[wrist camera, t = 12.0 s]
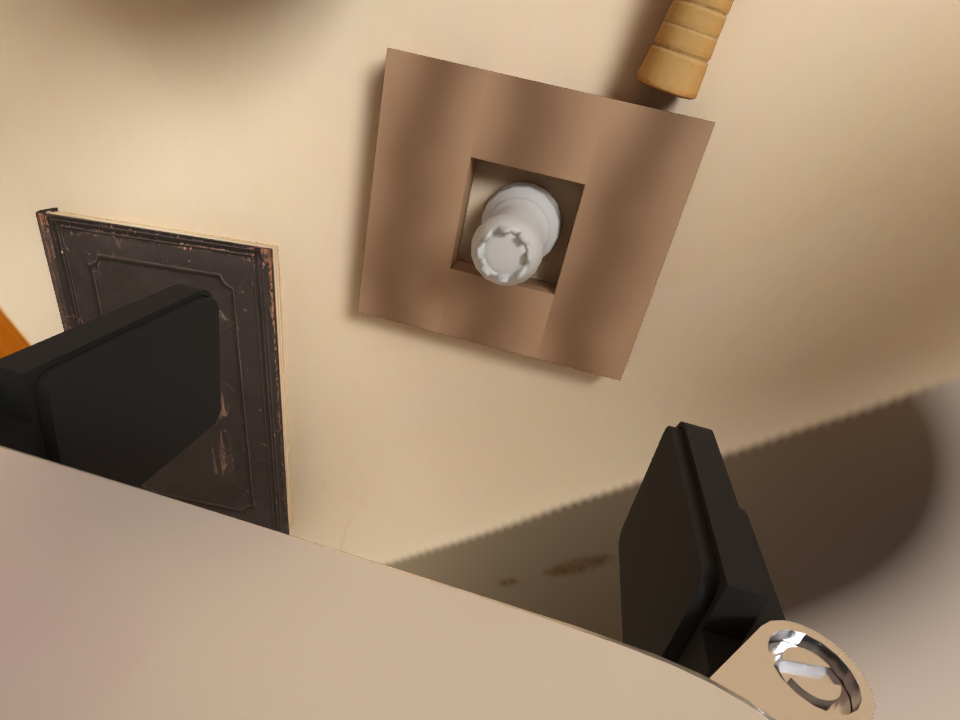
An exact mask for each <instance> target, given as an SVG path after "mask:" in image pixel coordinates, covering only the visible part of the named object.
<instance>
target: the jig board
mask: <svg viewBox="0 0 960 720" xmlns="http://www.w3.org/2000/svg"><path fill="white" fill-rule="evenodd" d="M714 124H715V122H711V121H707V120H703V119H698V118H694V117H689V116H685V115H681V114H676V113H672V112H667V111H663V110H659V109H654V108H650V107H646V106H641V105H637V104H632V103H628V102H624V101H619V100H615V99H610V98H606V97H602V96H597V95H593V94H589V93H584V92H580V91H575V90H571V89H567V88H562V87H558V86H553V85H549V84H545V83H540V82H536V81H532V80H527V79H523V78H518V77H514V76H510V75H505V74H501V73H497V72H492V71H488V70H483V69H479V68H475V67H470V66H466V65H461V64H457V63H453V62H448V61H444V60H440V59H435V58H431V57H426V56H422V55H418V54H413V53H409V52H404V51H400V50H396V49H391V48H387V55H386V64H385V73H384V82H383V91H382V100H381V109H380V118H379V127H378V135H377V144H376V153H375V162H374V171H373V180H372V189H371V198H370V207H369V215H368V224H367V233H366V242H365V251H364V260H363V269H362V278H361V287H360V296H359V304H358V312H361V313H365V314H369V315H373V316H377V317H380V318H384V319H388V320H392V321H396V322H399V323H403V324H407V325H411V326H415V327H418V328H422V329H426V330H430V331H434V332H437V333H441V334H445V335H449V336H453V337H456V338H460V339H464V340H468V341H472V342H475V343H479V344H483V345H487V346H491V347H494V348H498V349H502V350H506V351H510V352H513V353H517V354H521V355H525V356H529V357H532V358H536V359H540V360H544V361H548V362H552V363H555V364H559V365H563V366H567V367H571V368H574V369H578V370H582V371H586V372H590V373H593V374H597V375H601V376H605V377H609V378H612V379H616V380H620V381H621V378H622V375H623V373H624V370H625V367H626V364H627V362H628V359H629V356H630V353H631V351H632V348H633V345H634V343H635V340H636V337H637V334H638V332H639V329H640V326H641V323H642V321H643V318H644V315H645V312H646V310H647V307H648V304H649V302H650V299H651V296H652V293H653V291H654V288H655V285H656V282H657V280H658V277H659V274H660V272H661V269H662V266H663V263H664V261H665V258H666V255H667V252H668V250H669V247H670V244H671V242H672V239H673V236H674V233H675V231H676V228H677V225H678V222H679V220H680V217H681V214H682V212H683V209H684V206H685V203H686V201H687V198H688V195H689V192H690V190H691V187H692V184H693V182H694V179H695V176H696V173H697V171H698V168H699V165H700V162H701V160H702V157H703V154H704V152H705V149H706V146H707V143H708V141H709V138H710V135H711V132H712V130H713V127H714ZM477 159H481V160H485V161H489V162H493V163H497V164H502V165H506V166H510V167H514V168H518V169H522V170H527V171H531V172H535V173H539V174H543V175H548V176H552V177H556V178H560V179H564V180H568V181H573V182H577V183H581V184H584V187H583V190H582V194H581V198H580V201H579V205H578V208H577V212H576V215H575V219H574V223H573V226H572V230H571V233H570V237H569V240H568V244H567V247H566V251H565V255H564V258H563V262H562V265H561V269H560V272H559V276H558V280H557V283H556V284H552V283H548V282H544V281H540V280H536V279H532V278H529V279H527V280H526V281H525V282H523V283H519V284H516V285H513V286H506V285H497V284H495V283H493V282H491V281H489V280H487V279H485V278H484V277H483V276H482V275H481V273H480V272H479V271H478V270H477V269H476V267H475V265H474V264H473V263H469V262H465V261H461V260H457V259H458V254H459V249H460V243H461V238H462V233H463V228H464V223H465V217H466V212H467V207H468V202H469V196H470V191H471V186H472V181H473V176H474V170H475V165H476V160H477Z"/></svg>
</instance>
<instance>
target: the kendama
mask: <svg viewBox="0 0 960 720" xmlns="http://www.w3.org/2000/svg"><path fill="white" fill-rule="evenodd" d="M733 1H734V0H673V1H672V3H671V5H670V7H669V9H668V11H667V13H666V16H665V19H664V21H663V22H662V24H661V26H660V28H659V31H658V33H657V35H656V37H655V40H654V44H653V45H652V46H651V47H650V49H649V51H648V53H647V55H646V57H645V59H644V61H643V63H642V65H641V67H640V69H639V71H638V74H637V76H636V78H637V80H638V81H639V82H641V83H643V84H645V85H648V86H650V87H653V88H655V89H658V90H660V91H662V92H665V93H668V94H671V95H674V96H677V97H680V98H685V99H695V98H696V96H697V93H698V90H699V88H700V85H701V82H702V80H703V77H704V74H705V72H706V69H707V66H708V64H707V62H708V61H709V60H710V58H711V56H712V53H713V51H714V48H715V45H716V43H717V38H718V37H719V35H720V33H721V30H722V28H723V25H724V23H725V21H726V15H727V14H728V13H729V10H730V8H731V6H732V3H733Z"/></svg>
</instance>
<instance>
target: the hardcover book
mask: <svg viewBox="0 0 960 720" xmlns="http://www.w3.org/2000/svg"><path fill="white" fill-rule="evenodd" d="M36 217H37V221H38V225H39V229H40V233H41V237H42V241H43V246H44V250H45V254H46V258H47V262H48V266H49V270H50V274H51V278H52V282H53V287H54V291H55V295H56V299H57V303H58V307H59V311H60V315H61V319H62V324H63V328H64V332H65V331H67V330H69V329H72V328H74V327H76V326H79V325H81V324H84V323H86V322H88V321H91V320H93V319H95V318H98V317H100V316H102V315H105V314H107V313H109V312H112V311H114V310H116V309H119V308H121V307H124V306H126V305H128V304H131V303H133V302H135V301H138V300H140V299H142V298H145V297H147V296H149V295H152V294H154V293H156V292H159V291H161V290H164V289H166V288H168V287H171V286H173V285H175V284H179V283H181V284H185V285H189V286H192V287H196V288H200V289H203V290H207V291H209V292H210V293H211V295H212V297H213V299H214V300H216V301H217V303H218V306H219V339H220V397H221V410H220V415H219V417H218V419H217V421H216V423H215V424H214V425H213V426H212V427H211V428H210V429H208V430H207V431H206V432H205V433H204V434H202V435H201V436H200V437H199V438H198V439H196V440H195V441H194V442H193V443H192V444H190V445H189V446H188V447H187V448H186V449H184V450H183V451H182V452H181V453H180V454H178V455H177V456H176V457H175V458H174V459H172V460H171V461H170V462H169V463H168V464H166V465H165V466H164V467H163V468H161V469H160V470H159V471H158V472H157V473H155V474H154V475H153V476H152V477H151V478H149V479H148V480H147V481H146V482H145V483H143V484H142V485H141V486H140V487H139V488H140V489H144V490H147V491H150V492H153V493H156V494H159V495H163V496H166V497H169V498H172V499H175V500H179V501H182V502H185V503H188V504H191V505H194V506H198V507H201V508H204V509H207V510H210V511H214V512H217V513H220V514H223V515H226V516H229V517H233V518H236V519H239V520H242V521H245V522H249V523H252V524H255V525H258V526H261V527H265V528H268V529H271V530H274V531H277V532H280V533H284V534H287V535H289V528H290V526H291V525H292V523H293V516H292V497H291V478H290V459H289V440H288V421H287V402H286V382H285V363H284V344H283V325H282V306H281V287H280V268H279V249H278V246H275V245H269V244H262V243H256V242H250V241H243V240H237V239H230V238H224V237H218V236H211V235H205V234H198V233H192V232H186V231H179V230H173V229H166V228H160V227H154V226H147V225H141V224H134V223H128V222H122V221H115V220H109V219H102V218H96V217H90V216H83V215H77V214H70V213H64V212H58V209H57V208H50V209H44V210H40V211H37V212H36Z"/></svg>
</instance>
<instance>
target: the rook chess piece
mask: <svg viewBox="0 0 960 720" xmlns="http://www.w3.org/2000/svg"><path fill="white" fill-rule="evenodd" d="M561 221H562V217H561V214H560V211H559V207H558V204H557V202H556V201H555V200H554V198H553V197H552V196H551V195H550V194H549V192H548V191H547V190H545V189H543V188H541V187H539V186H537V185H536V184H534V183H527V182H514V183H512V184H509V185H506V186H503V187H501V188H500V189H499V190H498V191H497V192H496V193H495V194H493V195H492V196H491V197H490V198H489V200H488V202H487V205H486V207H485V209H484V211H483V214H482V216H481V225H480V226H479V227H478V228H477V230H476V232H475V234H474V236H473V239H472V241H471V257H472V259H473V262H474V265H475V267H476V269H477V270H478V271H479V272H480V273H481V275H482V276H483V277H484V278H485V279H487V280H489V281H491V282H493V283H495V284H497V285H506V286H513V285H516V284H519V283H523V282H525V281H526V280H527V279H529V278H530V277H531V276H532V275H533V274H535V273H536V271H537V269H538V267H539V265H540V263H541V261H542V258H543V257H544V256H546V255H547V254H548V253H549V252H550V251H551V250H552V248H553V247H554V245H555V243H556V241H557V239H558V237H559V235H560V232H561Z"/></svg>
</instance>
